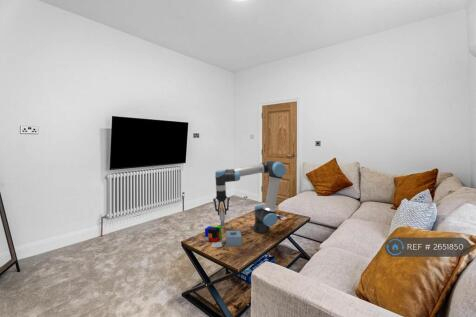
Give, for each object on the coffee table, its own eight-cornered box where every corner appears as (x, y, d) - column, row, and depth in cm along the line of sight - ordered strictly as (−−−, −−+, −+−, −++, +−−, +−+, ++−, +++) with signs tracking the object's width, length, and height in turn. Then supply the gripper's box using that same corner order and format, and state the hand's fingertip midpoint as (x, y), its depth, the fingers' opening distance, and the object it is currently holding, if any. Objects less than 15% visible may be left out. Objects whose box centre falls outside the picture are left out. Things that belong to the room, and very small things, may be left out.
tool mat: (221, 242, 179) (221, 241, 179) (222, 247, 171) (221, 246, 171) (211, 242, 179) (211, 242, 179) (211, 247, 171) (211, 247, 171)
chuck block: (240, 238, 185) (240, 230, 184) (241, 245, 173) (241, 236, 173) (221, 239, 184) (221, 231, 183) (221, 246, 172) (221, 237, 171)
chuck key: (224, 223, 179) (223, 203, 178) (224, 227, 172) (223, 206, 170) (220, 223, 179) (219, 203, 178) (220, 227, 171) (219, 207, 170)
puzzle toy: (205, 240, 182) (204, 228, 182) (211, 236, 191) (211, 224, 191) (215, 242, 178) (215, 230, 178) (221, 237, 187) (221, 226, 187)
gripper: (230, 188, 177) (232, 216, 179) (210, 189, 176) (212, 218, 178) (231, 190, 170) (232, 220, 172) (210, 191, 168) (212, 221, 171)
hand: (222, 219), depth 175 cm, fingers closed on chuck key, 3 cm apart
